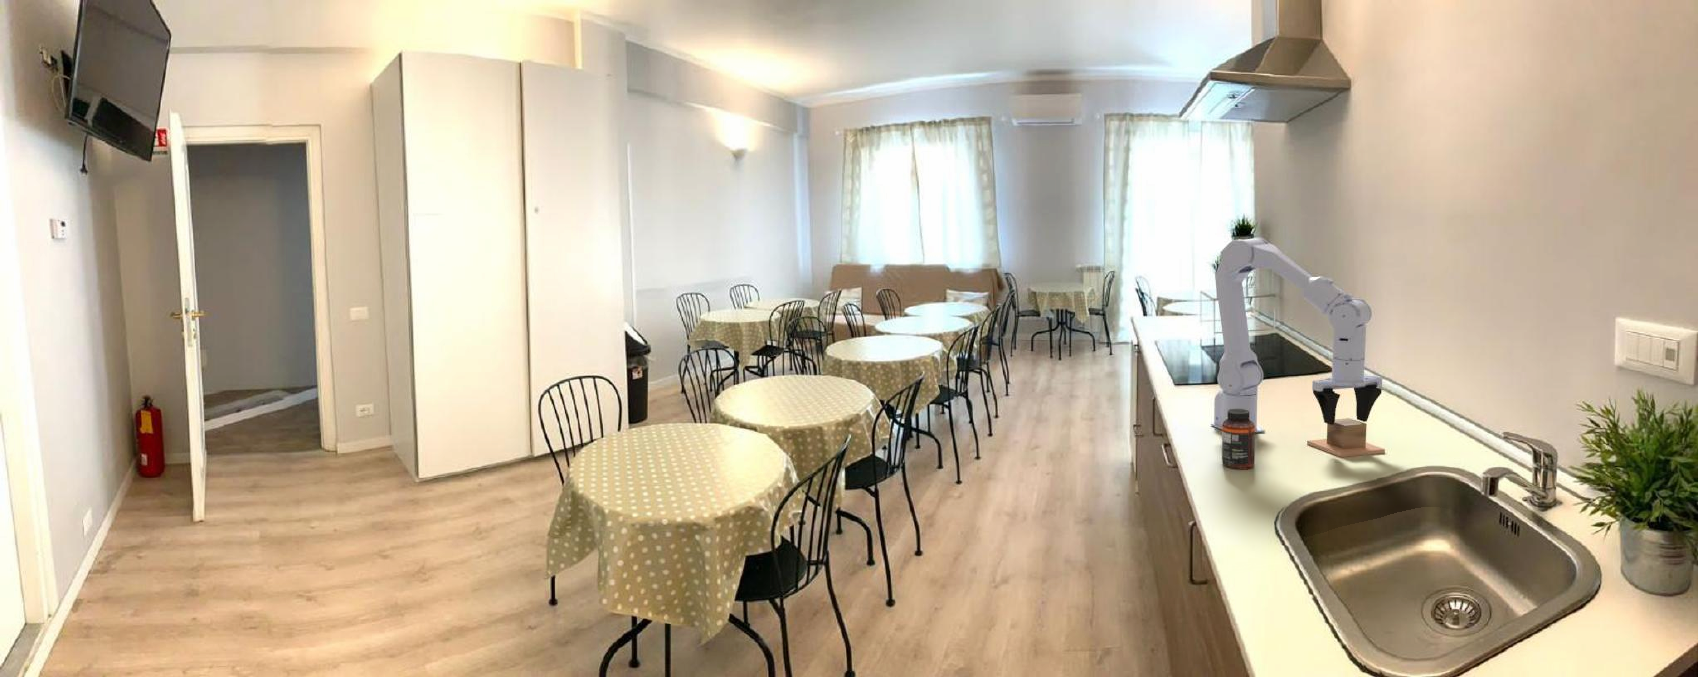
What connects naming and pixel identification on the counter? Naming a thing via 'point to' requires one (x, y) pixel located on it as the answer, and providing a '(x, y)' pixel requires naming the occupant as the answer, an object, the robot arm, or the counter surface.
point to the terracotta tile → (1341, 452)
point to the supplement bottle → (1238, 440)
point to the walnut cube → (1347, 433)
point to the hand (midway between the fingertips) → (1345, 422)
